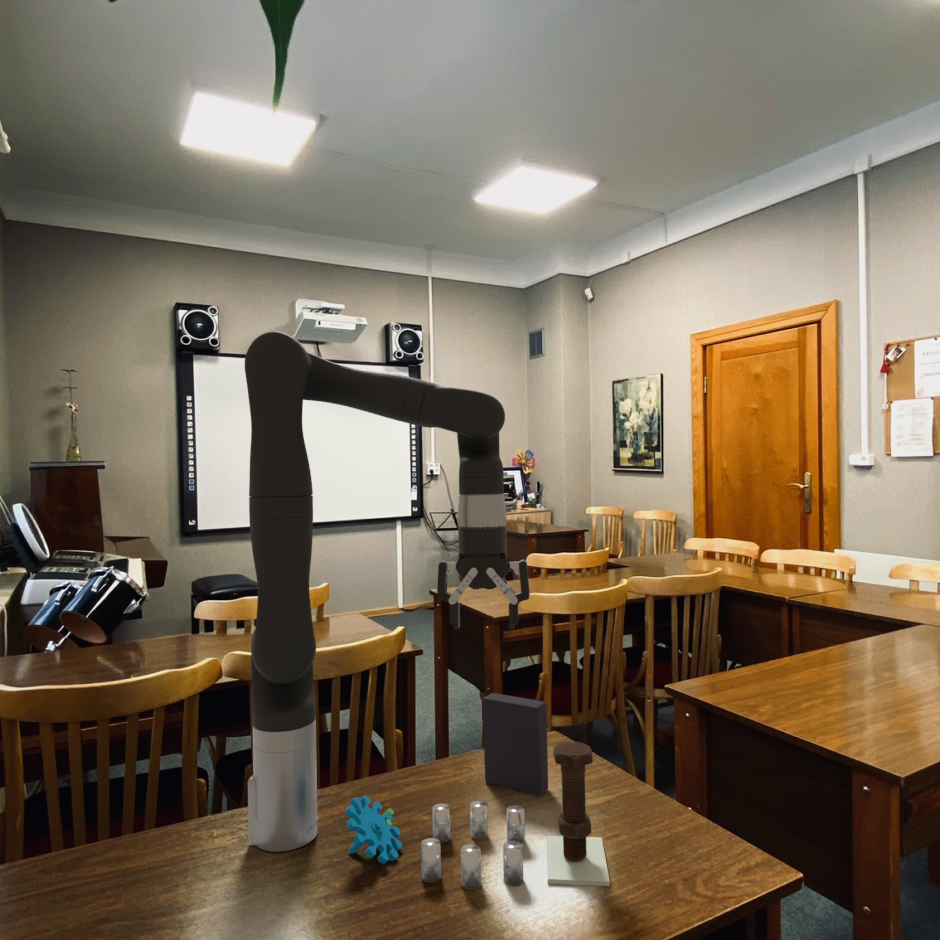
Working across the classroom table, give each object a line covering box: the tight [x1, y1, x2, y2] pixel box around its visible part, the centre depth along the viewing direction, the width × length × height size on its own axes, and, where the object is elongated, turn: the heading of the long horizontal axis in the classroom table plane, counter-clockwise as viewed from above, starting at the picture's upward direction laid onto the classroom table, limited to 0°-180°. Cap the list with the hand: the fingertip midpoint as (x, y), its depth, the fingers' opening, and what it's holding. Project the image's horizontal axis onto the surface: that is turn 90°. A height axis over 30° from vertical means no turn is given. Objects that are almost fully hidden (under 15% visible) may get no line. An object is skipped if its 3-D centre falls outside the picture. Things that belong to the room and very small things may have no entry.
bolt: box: [553, 741, 594, 861], centre depth 95 cm, size 6×5×15 cm
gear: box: [344, 795, 403, 865], centre depth 98 cm, size 11×6×10 cm
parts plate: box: [546, 835, 611, 887], centre depth 95 cm, size 8×11×1 cm
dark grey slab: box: [481, 692, 549, 797], centre depth 119 cm, size 11×4×15 cm, turn 58°
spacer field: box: [420, 800, 526, 891], centre depth 96 cm, size 14×15×4 cm
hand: (484, 627), depth 107 cm, fingers open, 8 cm apart
